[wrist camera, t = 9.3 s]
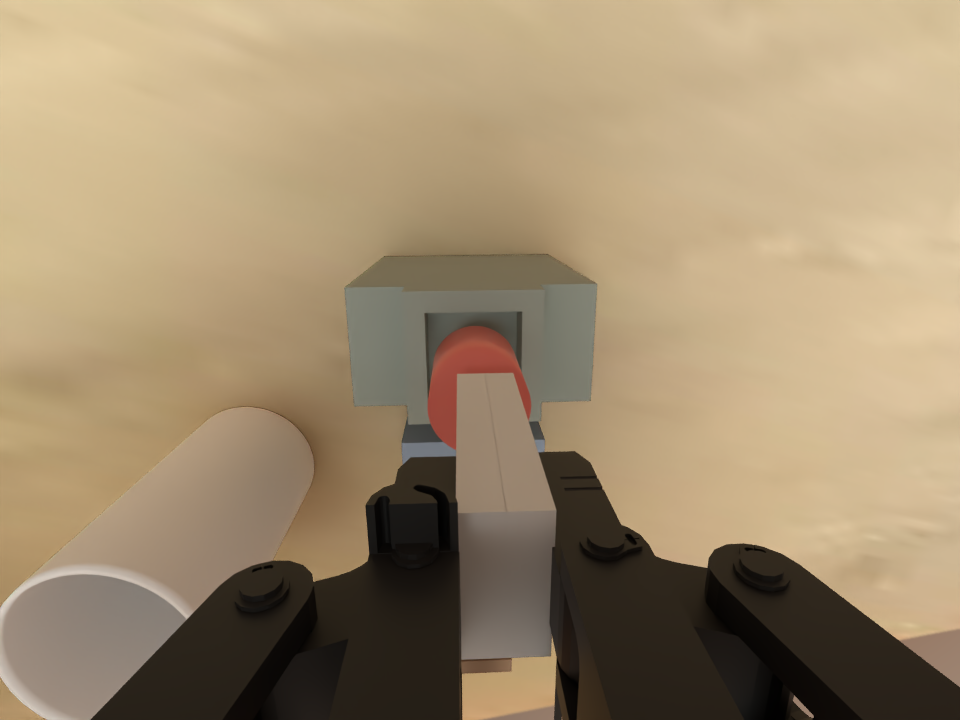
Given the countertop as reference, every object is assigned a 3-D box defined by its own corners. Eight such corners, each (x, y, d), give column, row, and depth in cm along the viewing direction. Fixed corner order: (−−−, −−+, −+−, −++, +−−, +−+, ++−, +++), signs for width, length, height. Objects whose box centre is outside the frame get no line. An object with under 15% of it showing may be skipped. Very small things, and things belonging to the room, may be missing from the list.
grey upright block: (389, 337, 34) (346, 426, 21) (383, 254, 32) (334, 292, 19) (557, 334, 34) (621, 419, 21) (560, 252, 33) (631, 288, 20)
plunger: (434, 406, 20) (429, 456, 16) (431, 326, 19) (425, 359, 15) (515, 404, 20) (530, 453, 16) (517, 324, 19) (532, 357, 15)
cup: (331, 433, 36) (237, 610, 20) (291, 532, 38) (178, 760, 22) (210, 387, 34) (11, 539, 19) (175, 491, 36) (-30, 704, 21)
